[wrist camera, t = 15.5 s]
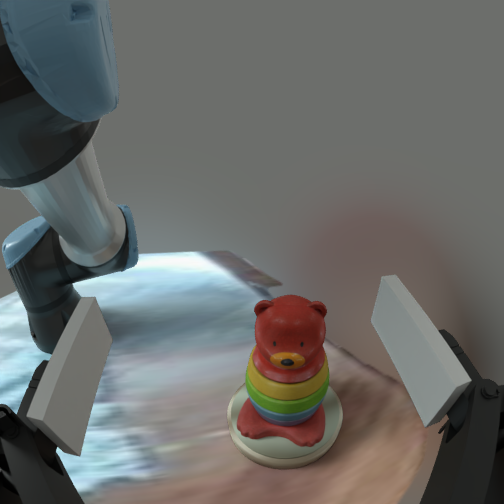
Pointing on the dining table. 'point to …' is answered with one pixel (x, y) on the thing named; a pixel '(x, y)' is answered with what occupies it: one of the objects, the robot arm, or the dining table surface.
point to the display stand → (281, 449)
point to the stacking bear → (287, 372)
